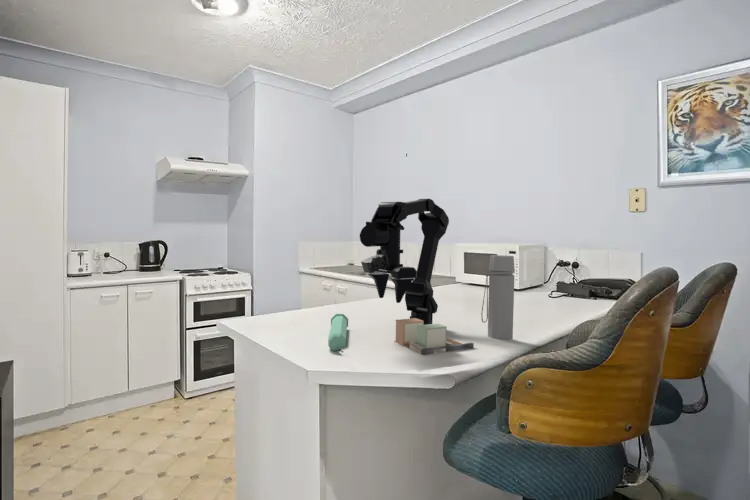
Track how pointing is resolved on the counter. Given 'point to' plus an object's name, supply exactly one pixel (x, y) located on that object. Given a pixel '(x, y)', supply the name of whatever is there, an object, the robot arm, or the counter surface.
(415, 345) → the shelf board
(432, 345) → the tea box
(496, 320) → the water bottle
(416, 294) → the robot arm
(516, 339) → the counter surface
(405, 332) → the rust box
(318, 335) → the counter surface
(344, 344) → the container
